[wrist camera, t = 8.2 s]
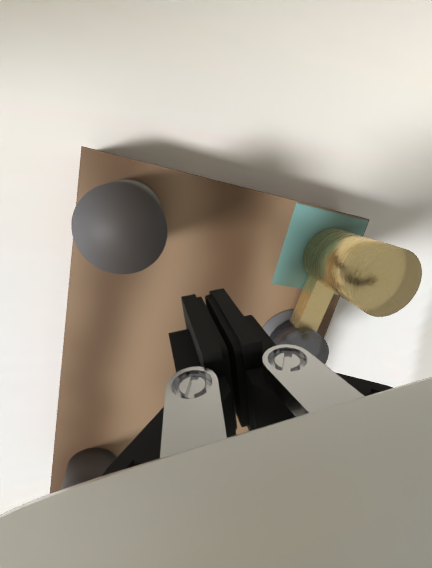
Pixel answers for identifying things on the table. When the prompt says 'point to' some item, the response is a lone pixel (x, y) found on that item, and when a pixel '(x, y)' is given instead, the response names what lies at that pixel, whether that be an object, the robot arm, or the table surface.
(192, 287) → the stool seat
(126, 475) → the robot arm
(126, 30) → the table surface
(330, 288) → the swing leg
